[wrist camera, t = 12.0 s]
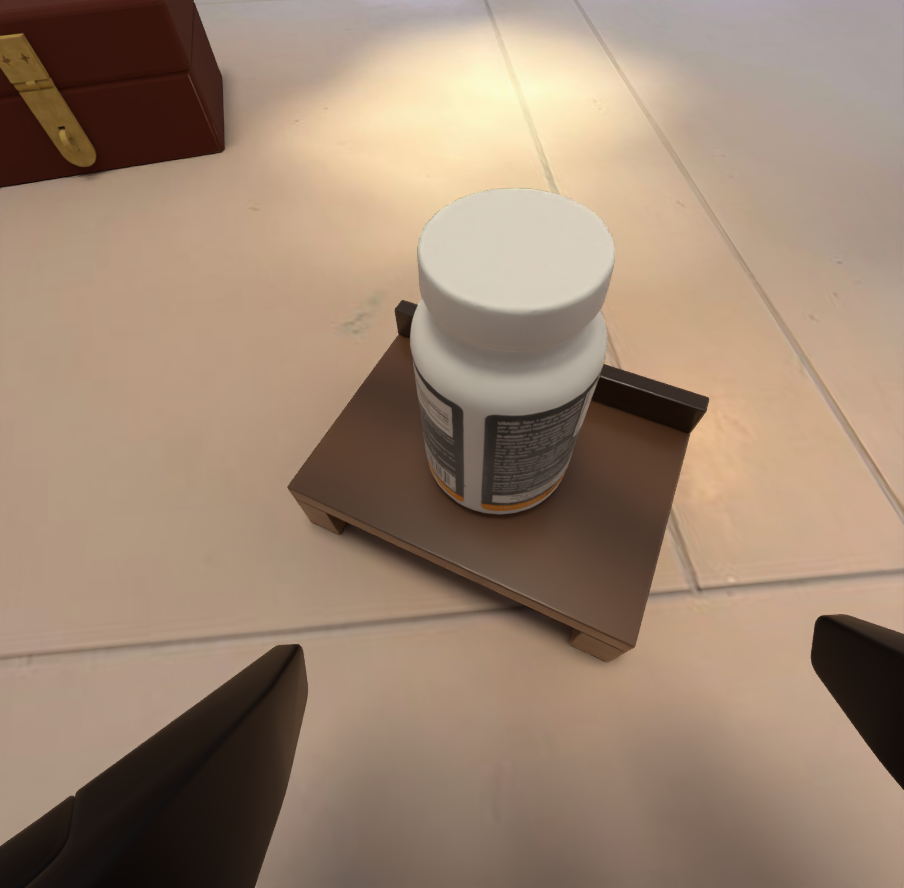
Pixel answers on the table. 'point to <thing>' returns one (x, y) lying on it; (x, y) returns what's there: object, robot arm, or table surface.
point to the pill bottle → (508, 341)
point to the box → (104, 86)
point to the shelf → (526, 532)
